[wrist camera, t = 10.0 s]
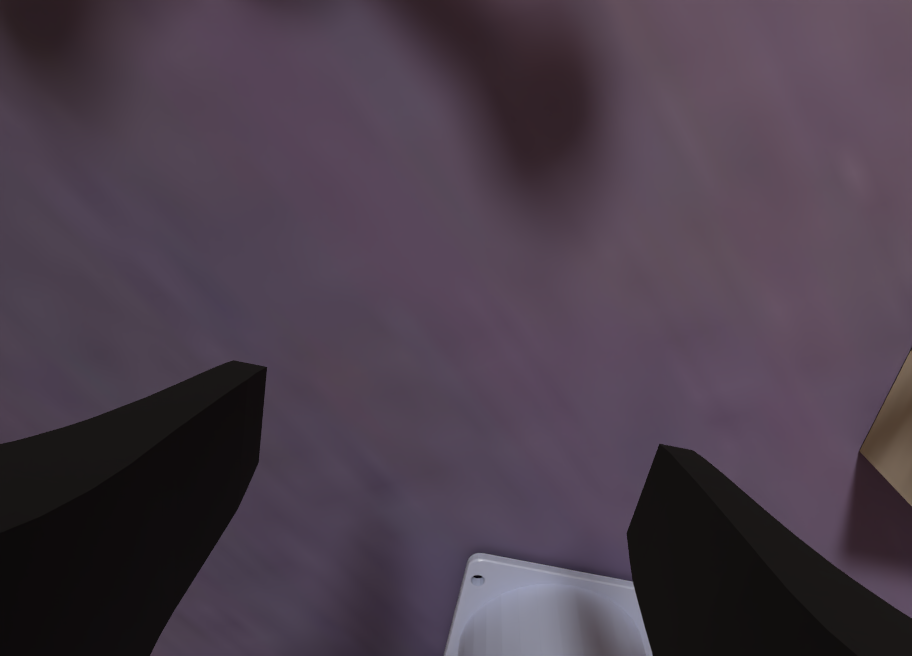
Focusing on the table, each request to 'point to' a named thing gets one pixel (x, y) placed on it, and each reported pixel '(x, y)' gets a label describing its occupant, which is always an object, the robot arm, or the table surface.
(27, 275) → the table surface
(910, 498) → the wooden block
